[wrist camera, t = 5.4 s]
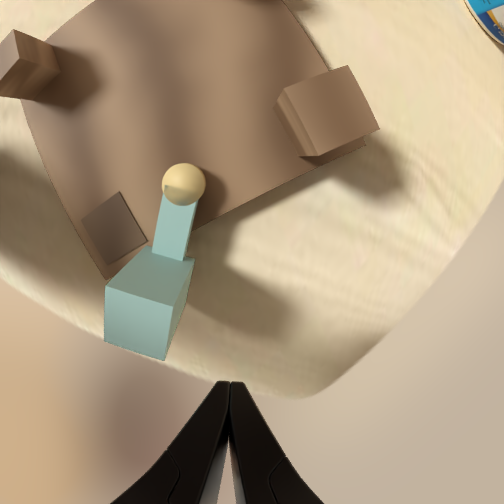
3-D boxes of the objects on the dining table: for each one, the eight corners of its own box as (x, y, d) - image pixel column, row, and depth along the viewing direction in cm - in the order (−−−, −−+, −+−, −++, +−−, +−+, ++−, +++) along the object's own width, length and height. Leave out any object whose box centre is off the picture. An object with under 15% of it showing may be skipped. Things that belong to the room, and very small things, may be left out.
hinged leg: (164, 157, 14) (122, 158, 9) (217, 170, 14) (202, 177, 9) (139, 290, 17) (104, 341, 11) (185, 303, 17) (164, 361, 12)
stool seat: (113, 273, 18) (73, 314, 12) (22, 75, 13) (-26, 66, 7) (358, 145, 16) (406, 143, 10) (226, -53, 10) (222, -100, 5)
